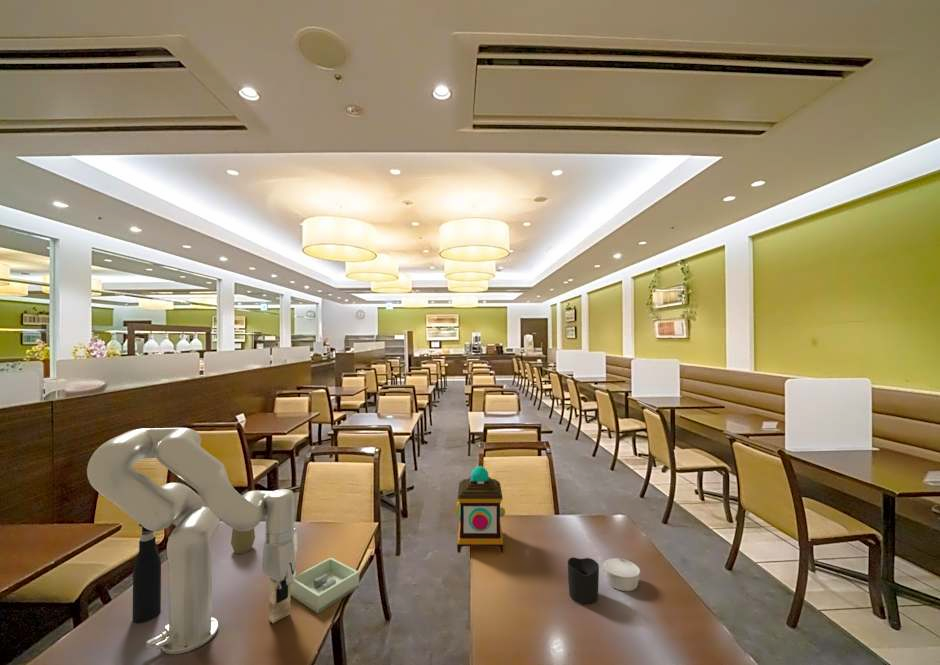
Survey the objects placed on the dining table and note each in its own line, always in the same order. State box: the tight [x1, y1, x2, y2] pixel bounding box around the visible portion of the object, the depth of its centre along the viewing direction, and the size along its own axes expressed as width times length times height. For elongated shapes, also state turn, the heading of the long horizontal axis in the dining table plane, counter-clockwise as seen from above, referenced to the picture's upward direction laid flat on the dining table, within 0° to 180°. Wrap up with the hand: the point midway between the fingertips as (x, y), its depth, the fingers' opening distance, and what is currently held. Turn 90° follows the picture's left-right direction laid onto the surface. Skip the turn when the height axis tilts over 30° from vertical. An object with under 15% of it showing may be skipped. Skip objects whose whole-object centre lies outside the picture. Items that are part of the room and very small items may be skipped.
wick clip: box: [314, 574, 336, 591], centre depth 128 cm, size 4×6×2 cm
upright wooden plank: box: [268, 579, 291, 624], centre depth 116 cm, size 5×2×11 cm, turn 144°
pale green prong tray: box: [290, 557, 360, 614], centre depth 128 cm, size 15×15×5 cm
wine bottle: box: [132, 523, 162, 624], centre depth 117 cm, size 6×6×30 cm
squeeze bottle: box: [230, 528, 256, 554], centre depth 154 cm, size 8×8×18 cm
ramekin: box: [603, 557, 641, 592], centre depth 132 cm, size 11×11×5 cm
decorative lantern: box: [454, 465, 506, 554], centre depth 159 cm, size 20×20×30 cm
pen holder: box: [567, 556, 600, 605], centre depth 125 cm, size 9×9×10 cm
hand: (279, 598), depth 116 cm, fingers closed on upright wooden plank, 2 cm apart
